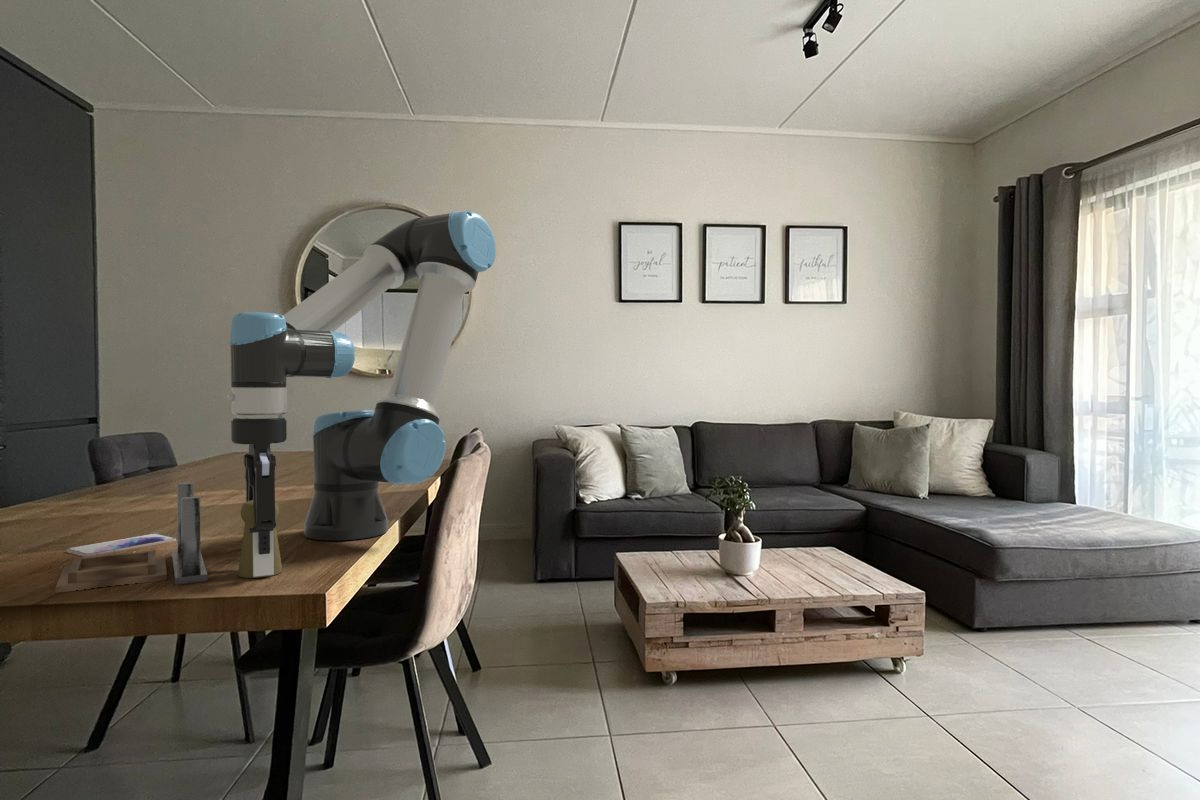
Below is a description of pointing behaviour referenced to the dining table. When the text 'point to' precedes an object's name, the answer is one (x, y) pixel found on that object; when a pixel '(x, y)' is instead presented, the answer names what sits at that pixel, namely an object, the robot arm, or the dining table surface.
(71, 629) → the dining table surface
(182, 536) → the clip
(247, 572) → the cork
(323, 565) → the dining table surface
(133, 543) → the smartphone
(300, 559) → the dining table surface
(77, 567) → the end holder
